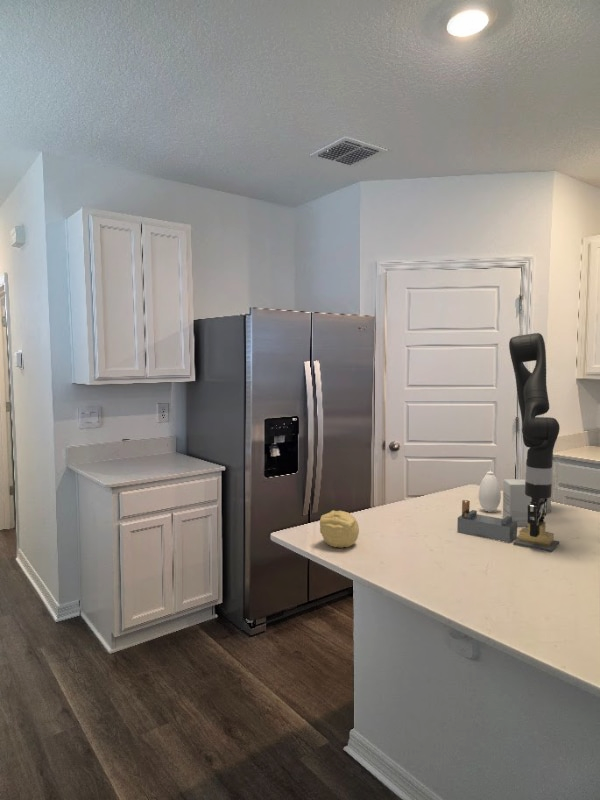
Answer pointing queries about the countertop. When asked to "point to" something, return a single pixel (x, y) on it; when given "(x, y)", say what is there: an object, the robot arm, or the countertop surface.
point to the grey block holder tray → (486, 525)
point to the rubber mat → (536, 545)
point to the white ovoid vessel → (489, 492)
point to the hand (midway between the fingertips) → (536, 533)
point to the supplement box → (515, 501)
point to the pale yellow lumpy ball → (339, 529)
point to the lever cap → (541, 539)
